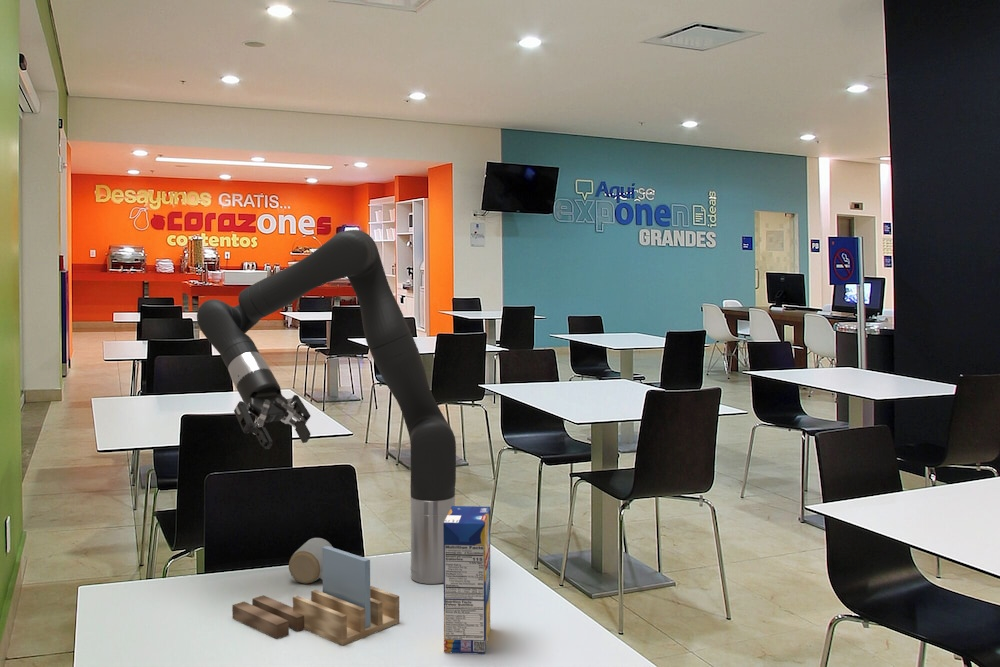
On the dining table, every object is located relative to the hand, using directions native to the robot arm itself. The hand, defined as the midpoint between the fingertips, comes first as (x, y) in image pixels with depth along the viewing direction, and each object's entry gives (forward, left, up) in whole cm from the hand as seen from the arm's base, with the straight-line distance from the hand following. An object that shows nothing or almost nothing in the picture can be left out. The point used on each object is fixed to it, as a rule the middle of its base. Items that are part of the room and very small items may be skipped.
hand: (288, 443), depth 166 cm
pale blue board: (-5, +17, -30) cm, 35 cm away
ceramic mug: (-8, -9, -31) cm, 33 cm away
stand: (+6, +10, -31) cm, 33 cm away
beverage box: (-22, +34, -31) cm, 51 cm away
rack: (-6, +17, -31) cm, 35 cm away
